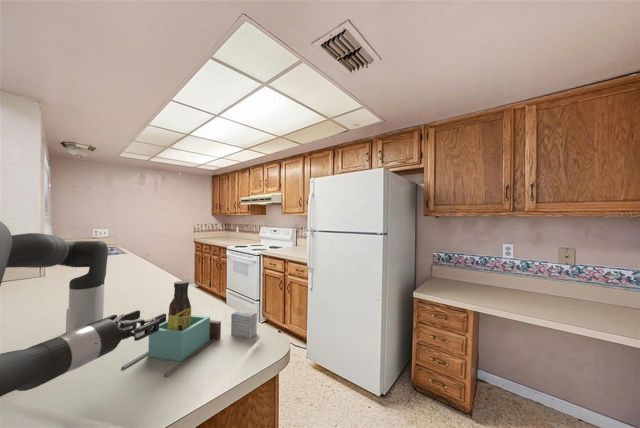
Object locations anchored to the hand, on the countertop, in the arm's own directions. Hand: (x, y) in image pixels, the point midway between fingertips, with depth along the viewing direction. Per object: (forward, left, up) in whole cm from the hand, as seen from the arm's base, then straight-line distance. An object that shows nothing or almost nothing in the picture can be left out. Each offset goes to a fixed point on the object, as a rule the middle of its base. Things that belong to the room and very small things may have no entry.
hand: (151, 315), depth 68 cm
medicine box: (+14, +25, -16) cm, 33 cm away
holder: (0, +11, -14) cm, 18 cm away
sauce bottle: (0, +10, -13) cm, 17 cm away
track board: (0, +9, -16) cm, 18 cm away
